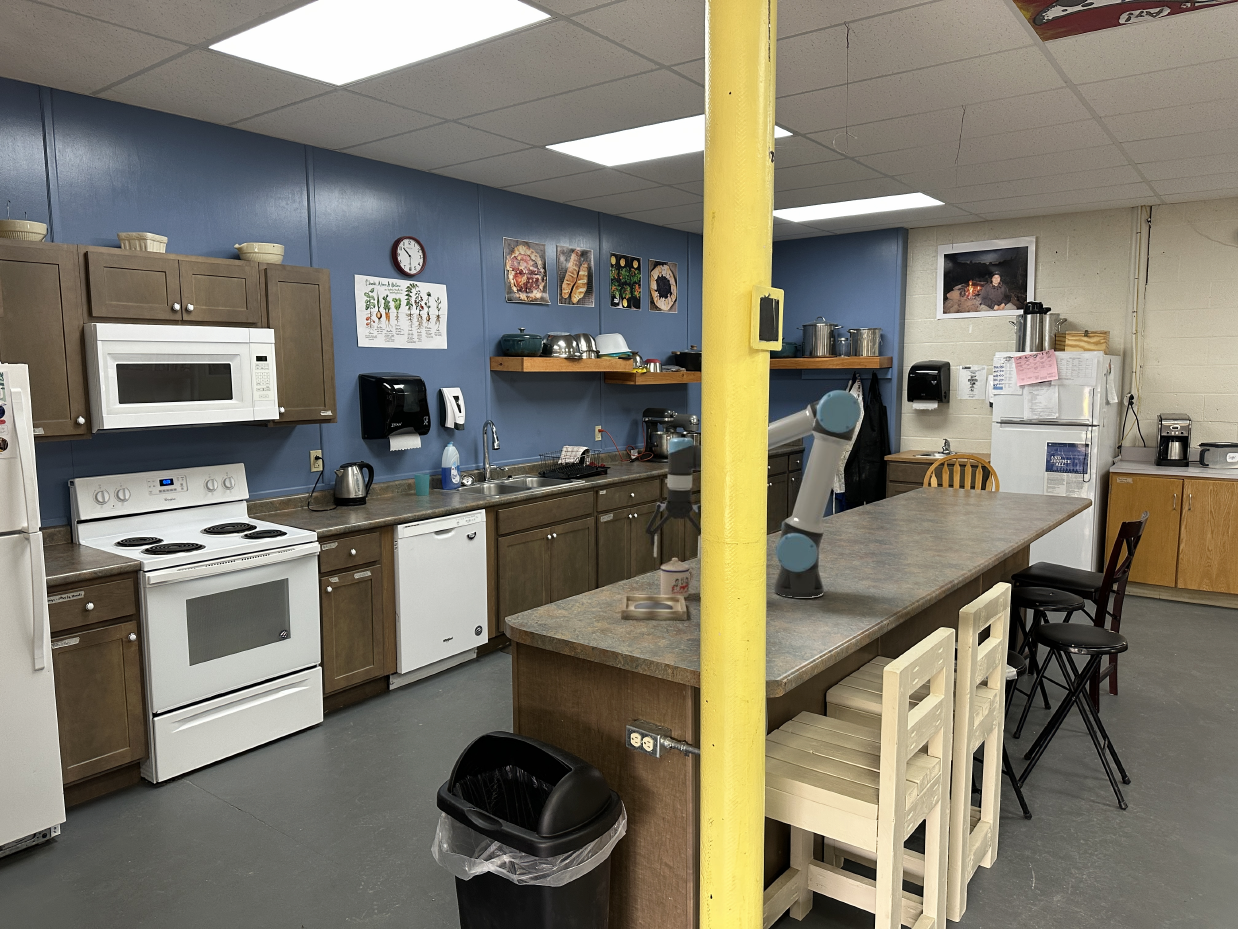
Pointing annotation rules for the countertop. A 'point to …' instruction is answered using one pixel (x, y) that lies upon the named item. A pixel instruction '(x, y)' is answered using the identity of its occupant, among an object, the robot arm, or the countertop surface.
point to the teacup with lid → (675, 578)
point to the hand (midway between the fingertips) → (677, 556)
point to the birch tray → (653, 607)
